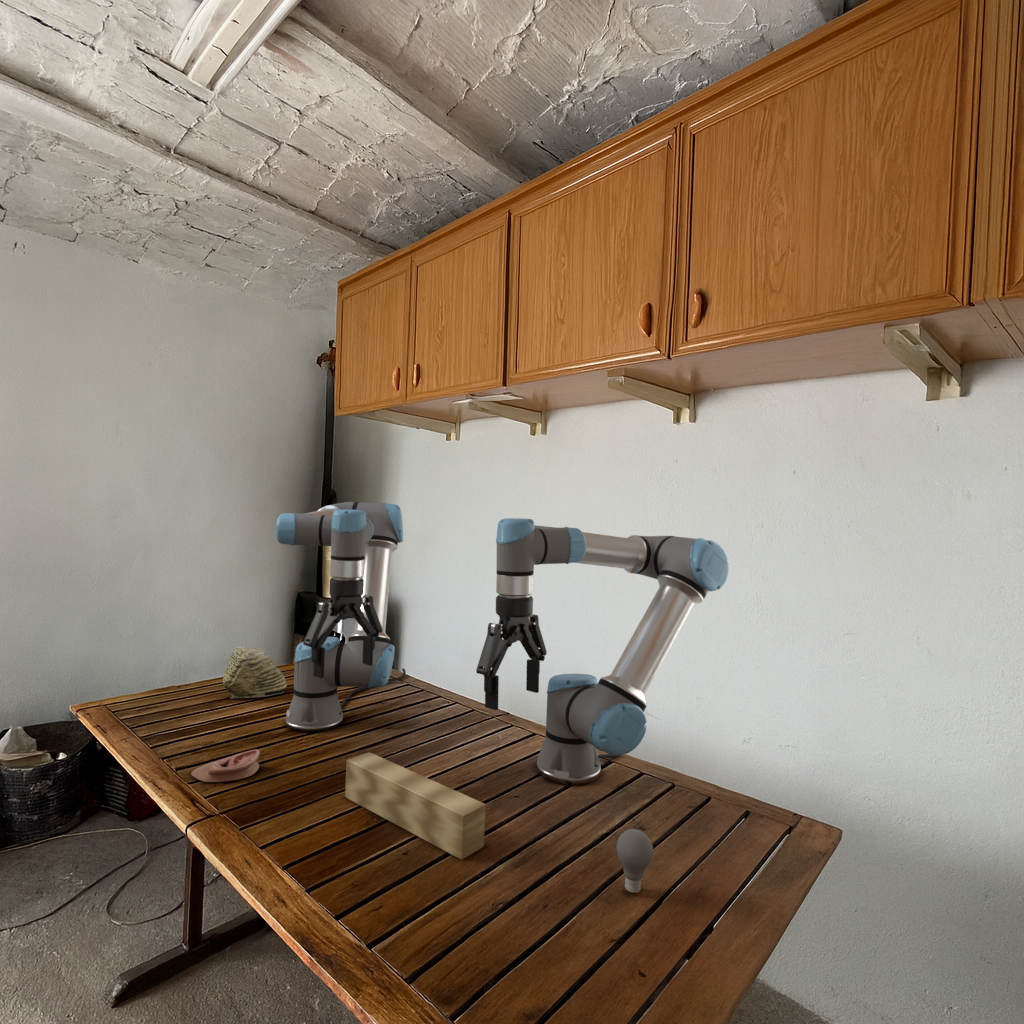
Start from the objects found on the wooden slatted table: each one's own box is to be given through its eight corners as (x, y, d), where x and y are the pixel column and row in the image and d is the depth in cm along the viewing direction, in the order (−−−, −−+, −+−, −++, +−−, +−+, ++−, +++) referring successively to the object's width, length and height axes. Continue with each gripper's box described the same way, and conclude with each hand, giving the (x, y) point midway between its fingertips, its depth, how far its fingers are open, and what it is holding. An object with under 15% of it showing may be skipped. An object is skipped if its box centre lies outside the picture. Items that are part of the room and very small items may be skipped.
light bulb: (610, 879, 108) (613, 822, 108) (644, 879, 109) (647, 822, 109) (619, 902, 102) (622, 840, 102) (655, 901, 103) (658, 840, 103)
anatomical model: (182, 760, 139) (216, 741, 150) (181, 778, 139) (216, 758, 150) (236, 768, 136) (267, 748, 147) (235, 786, 136) (266, 765, 147)
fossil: (218, 695, 195) (220, 647, 195) (278, 685, 208) (279, 640, 207) (228, 703, 189) (230, 653, 188) (289, 692, 201) (290, 645, 201)
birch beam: (344, 797, 134) (346, 759, 134) (367, 787, 139) (369, 751, 138) (461, 860, 113) (463, 815, 112) (484, 846, 117) (485, 804, 117)
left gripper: (378, 571, 156) (375, 656, 157) (288, 580, 136) (285, 678, 137) (399, 574, 151) (396, 662, 152) (309, 585, 131) (306, 686, 132)
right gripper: (535, 586, 140) (533, 681, 140) (458, 600, 120) (457, 711, 121) (563, 590, 135) (562, 688, 136) (489, 605, 115) (487, 720, 116)
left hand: (343, 670), depth 144 cm, fingers open, 13 cm apart
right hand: (512, 699), depth 128 cm, fingers open, 13 cm apart
